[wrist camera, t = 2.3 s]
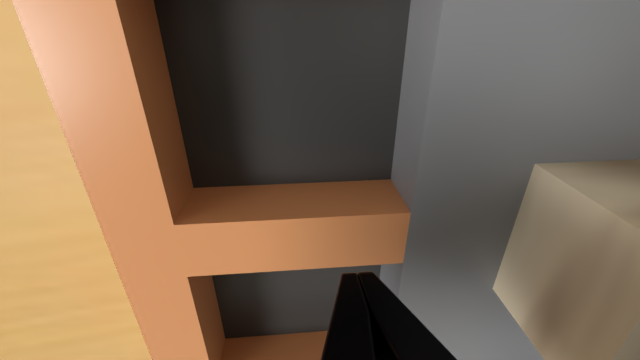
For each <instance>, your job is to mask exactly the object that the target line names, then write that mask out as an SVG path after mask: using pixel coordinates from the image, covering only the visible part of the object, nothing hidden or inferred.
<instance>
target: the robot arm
mask: <svg viewBox="0 0 640 360" xmlns="http://www.w3.org/2000/svg"><path fill="white" fill-rule="evenodd" d="M321 360H457V359H456V358H455V357H454V356H453V355H452V354H451V353H450V351H449V350H448V349H447V348H446V347H445V346H444V345H443V344H442V343H441V342H440V341H439V340H438V339H437V338H436V337H435V336H434V335H433V334H432V333H431V332H430V331H429V330H428V329H427V328H426V327H425V325H424V324H423V323H422V322H421V321H420V320H419V319H418V318H417V317H416V316H415V315H414V314H413V313H412V312H411V311H410V310H409V309H408V308H407V307H406V306H405V305H404V304H403V303H402V302H401V300H400V299H399V298H398V297H397V296H396V295H395V294H394V293H393V292H392V291H391V290H390V289H389V288H388V287H387V286H386V285H385V284H384V283H383V282H382V281H381V280H380V279H379V278H378V277H377V276H376V274H375V273H373V272H371V271H366V272H359V273H355V272H351V273H342V275H341V278H340V282H339V286H338V290H337V294H336V299H335V303H334V307H333V311H332V315H331V319H330V323H329V328H328V332H327V336H326V340H325V344H324V348H323V352H322V356H321Z"/></svg>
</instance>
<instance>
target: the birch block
mask: <svg viewBox="0 0 640 360" xmlns="http://www.w3.org/2000/svg"><path fill="white" fill-rule="evenodd" d="M493 290H494V291H495V293H496V294H497V296H498V297H499V298H500V300H501V301H502V302H503V304H504V305H505V307H506V308H507V309H508V311H509V312H510V313H511V315H512V316H513V318H514V319H515V320H516V322H517V323H518V324H519V326H520V327H521V329H522V330H523V331H524V333H525V334H526V335H527V337H528V338H529V340H530V341H531V342H532V344H533V345H534V346H535V348H536V349H537V351H538V352H539V353H540V355H541V356H542V357H543V359H544V360H640V159H638V160H613V161H589V162H565V163H540V164H535V165H534V168H533V171H532V174H531V177H530V179H529V182H528V185H527V188H526V191H525V194H524V197H523V200H522V203H521V206H520V209H519V212H518V215H517V218H516V221H515V224H514V227H513V230H512V233H511V236H510V239H509V242H508V245H507V247H506V250H505V253H504V256H503V259H502V262H501V265H500V268H499V271H498V274H497V277H496V280H495V283H494V286H493Z"/></svg>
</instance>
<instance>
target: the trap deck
mask: <svg viewBox="0 0 640 360" xmlns="http://www.w3.org/2000/svg"><path fill="white" fill-rule="evenodd" d="M12 2H13V5H14V7H15V10H16V12H17V15H18V17H19V20H20V23H21V25H22V28H23V30H24V33H25V35H26V38H27V40H28V43H29V46H30V48H31V51H32V53H33V56H34V58H35V61H36V63H37V66H38V69H39V71H40V74H41V76H42V79H43V81H44V84H45V87H46V89H47V92H48V94H49V97H50V99H51V102H52V104H53V107H54V110H55V112H56V115H57V117H58V120H59V122H60V125H61V127H62V130H63V133H64V135H65V138H66V140H67V143H68V145H69V148H70V151H71V153H72V156H73V158H74V161H75V163H76V166H77V168H78V171H79V174H80V176H81V179H82V181H83V184H84V186H85V189H86V191H87V194H88V197H89V199H90V202H91V204H92V207H93V209H94V212H95V214H96V217H97V220H98V222H99V225H100V227H101V230H102V232H103V235H104V238H105V240H106V243H107V245H108V248H109V250H110V253H111V255H112V258H113V261H114V263H115V266H116V268H117V271H118V273H119V276H120V278H121V281H122V284H123V286H124V289H125V291H126V294H127V296H128V299H129V302H130V304H131V307H132V309H133V312H134V314H135V317H136V319H137V322H138V325H139V327H140V330H141V332H142V335H143V337H144V340H145V342H146V345H147V348H148V350H149V353H150V355H151V358H152V360H321V356H322V352H323V348H324V344H325V340H326V336H327V332H328V328H329V323H330V319H331V315H332V311H333V307H334V303H335V299H336V294H337V290H338V286H339V282H340V278H341V275H342V273H351V272H355V273H359V272H366V271H371V272H373V273H375V274H376V276H377V277H378V278H379V279H380V280H381V281H382V282H383V283H384V284H385V285H386V286H387V287H388V288H389V289H390V290H391V291H392V292H393V293H394V294H395V295H396V296H397V297H398V298H399V299H400V300H401V302H402V303H403V304H404V305H405V306H406V307H407V308H408V309H409V310H410V311H411V312H412V313H413V314H414V315H415V316H416V317H417V318H418V319H419V320H420V321H421V322H422V323H423V324H424V325H425V327H426V328H427V329H428V330H429V331H430V332H431V333H432V334H433V335H434V336H435V337H436V338H437V339H438V340H439V341H440V342H441V343H442V344H443V345H444V346H445V347H446V348H447V349H448V350H449V351H450V353H451V354H452V355H453V356H454V357H455V358H456V359H457V360H544V359H543V357H542V356H541V355H540V353H539V352H538V351H537V349H536V348H535V346H534V345H533V344H532V342H531V341H530V340H529V338H528V337H527V335H526V334H525V333H524V331H523V330H522V329H521V327H520V326H519V324H518V323H517V322H516V320H515V319H514V318H513V316H512V315H511V313H510V312H509V311H508V309H507V308H506V307H505V305H504V304H503V302H502V301H501V300H500V298H499V297H498V296H497V294H496V293H495V291H494V290H493V286H494V283H495V280H496V277H497V274H498V271H499V268H500V265H501V262H502V259H503V256H504V253H505V250H506V247H507V245H508V242H509V239H510V236H511V233H512V230H513V227H514V224H515V221H516V218H517V215H518V212H519V209H520V206H521V203H522V200H523V197H524V194H525V191H526V188H527V185H528V182H529V179H530V177H531V174H532V171H533V168H534V165H535V164H540V163H565V162H589V161H613V160H638V159H640V0H12Z"/></svg>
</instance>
